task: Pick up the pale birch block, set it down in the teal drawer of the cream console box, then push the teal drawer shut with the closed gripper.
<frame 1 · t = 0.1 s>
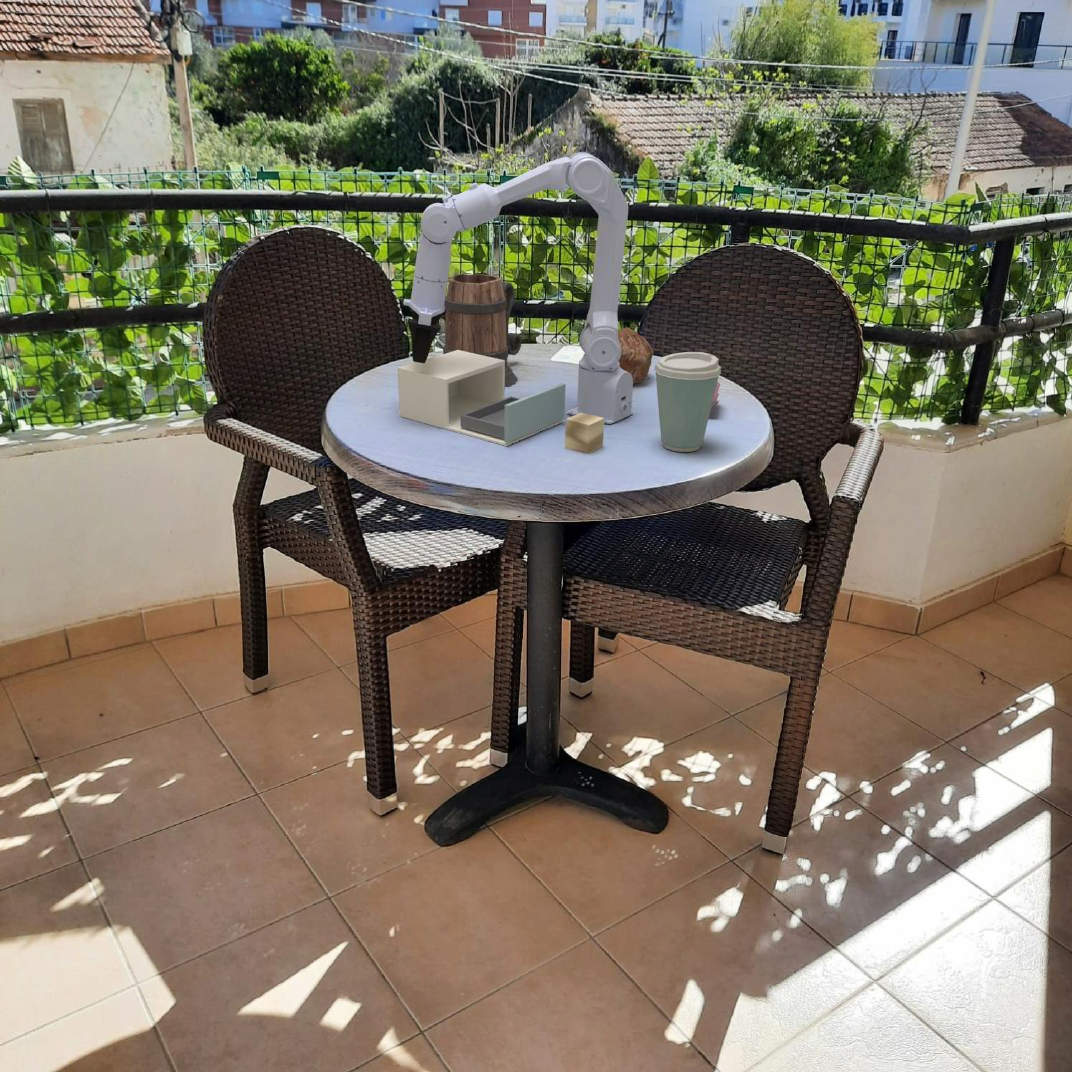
hand: (419, 356, 169), 11 cm above the table, tool pointing down, fingers open, 7 cm apart
disposable coffee cup: (680, 446, 161), on the table
teal drawer: (511, 406, 166), point 4 cm above the table, slide at 12.5 cm
birch block: (583, 447, 159), on the table
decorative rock: (623, 380, 196), on the table
console box: (452, 411, 175), on the table
tankard: (485, 376, 196), on the table
video game controller: (701, 412, 178), on the table
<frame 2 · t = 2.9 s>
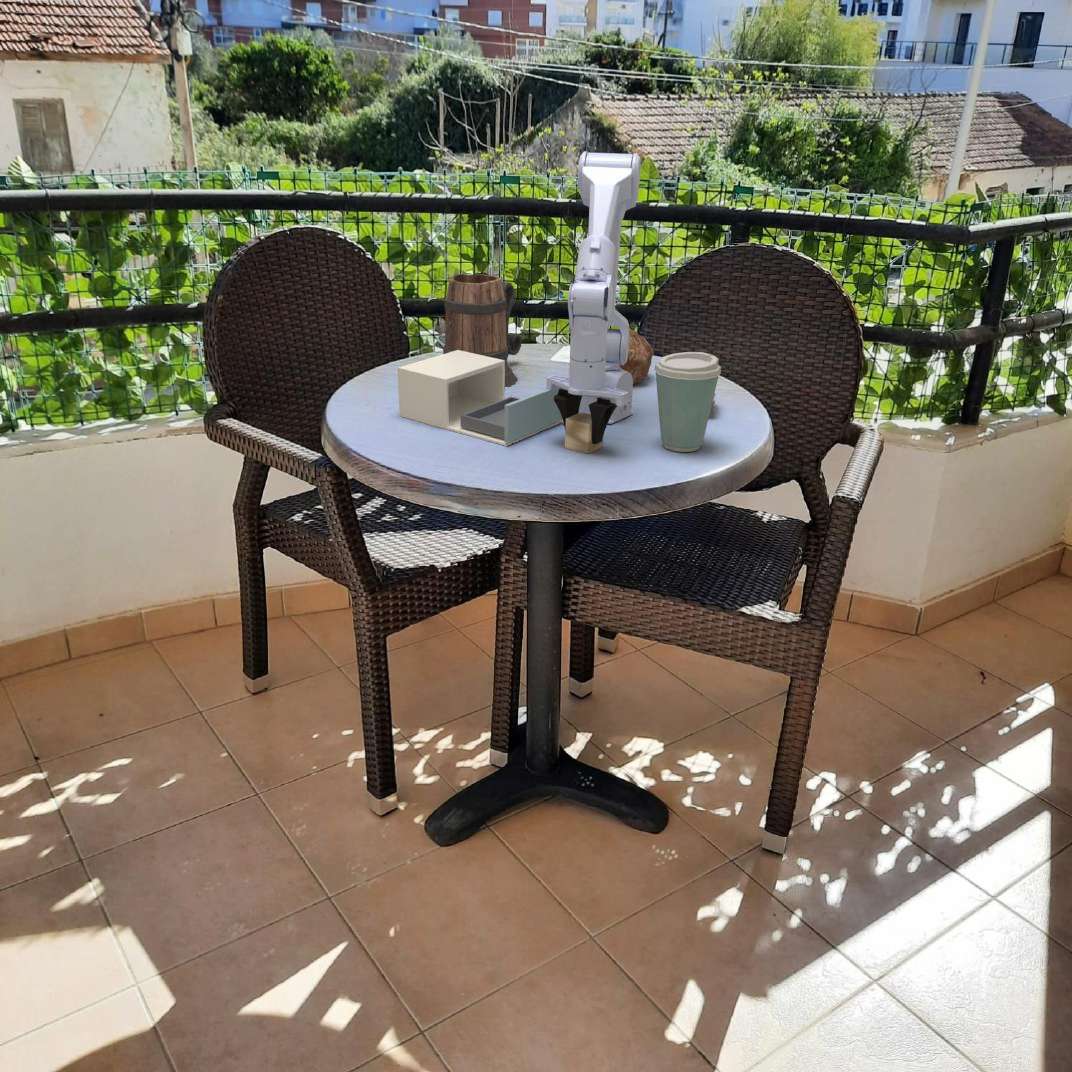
hand: (584, 438, 159), 1 cm above the table, tool pointing down, fingers closed on birch block, 4 cm apart
birch block: (583, 447, 159), on the table, touching gripper
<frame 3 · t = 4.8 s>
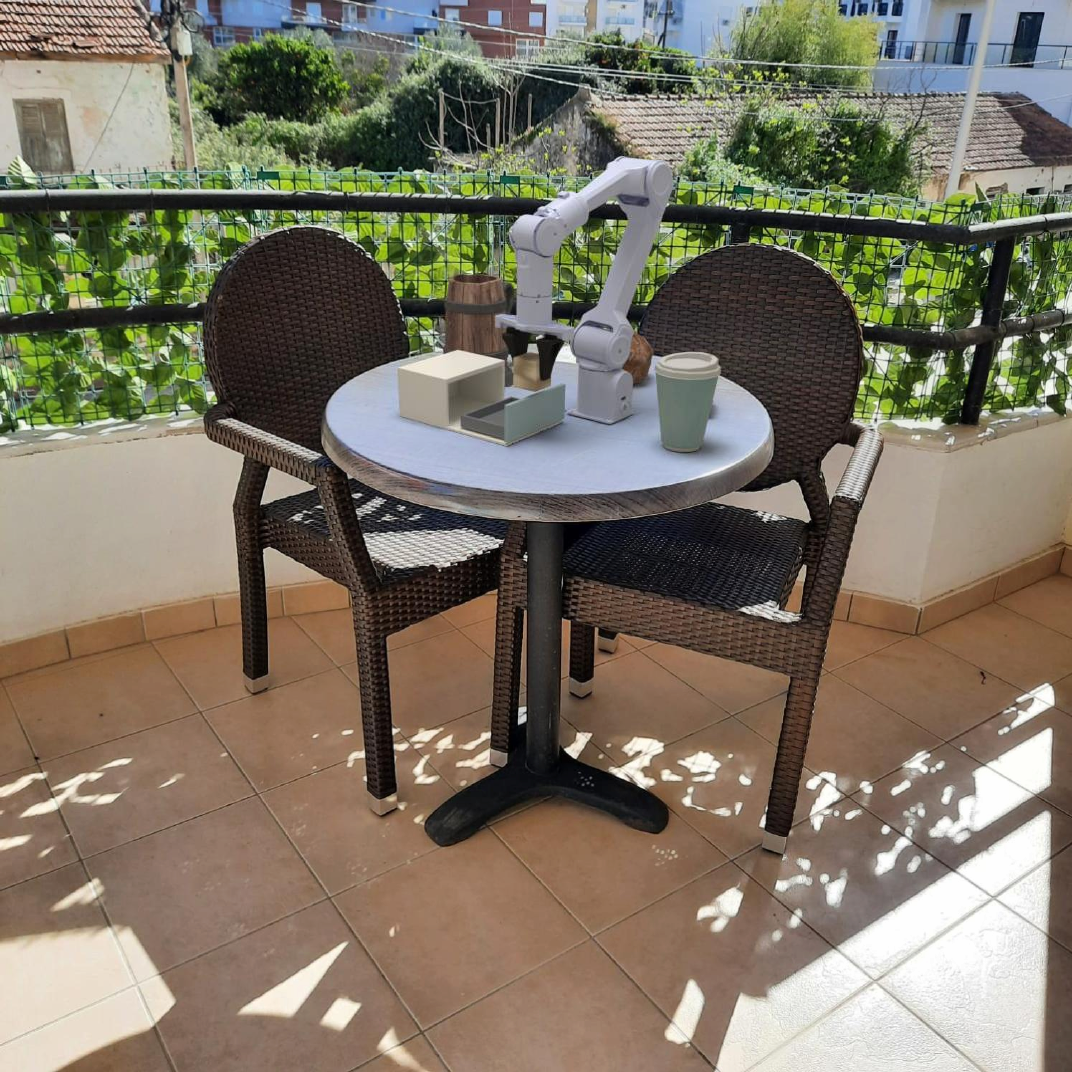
hand: (532, 376, 161), 10 cm above the table, tool pointing down, fingers closed on birch block, 4 cm apart
birch block: (532, 386, 161), point 8 cm above the table, touching gripper
when the fingers open (4 cm above the table, at t = 6.8 s): birch block drops 1 cm, resting on teal drawer.
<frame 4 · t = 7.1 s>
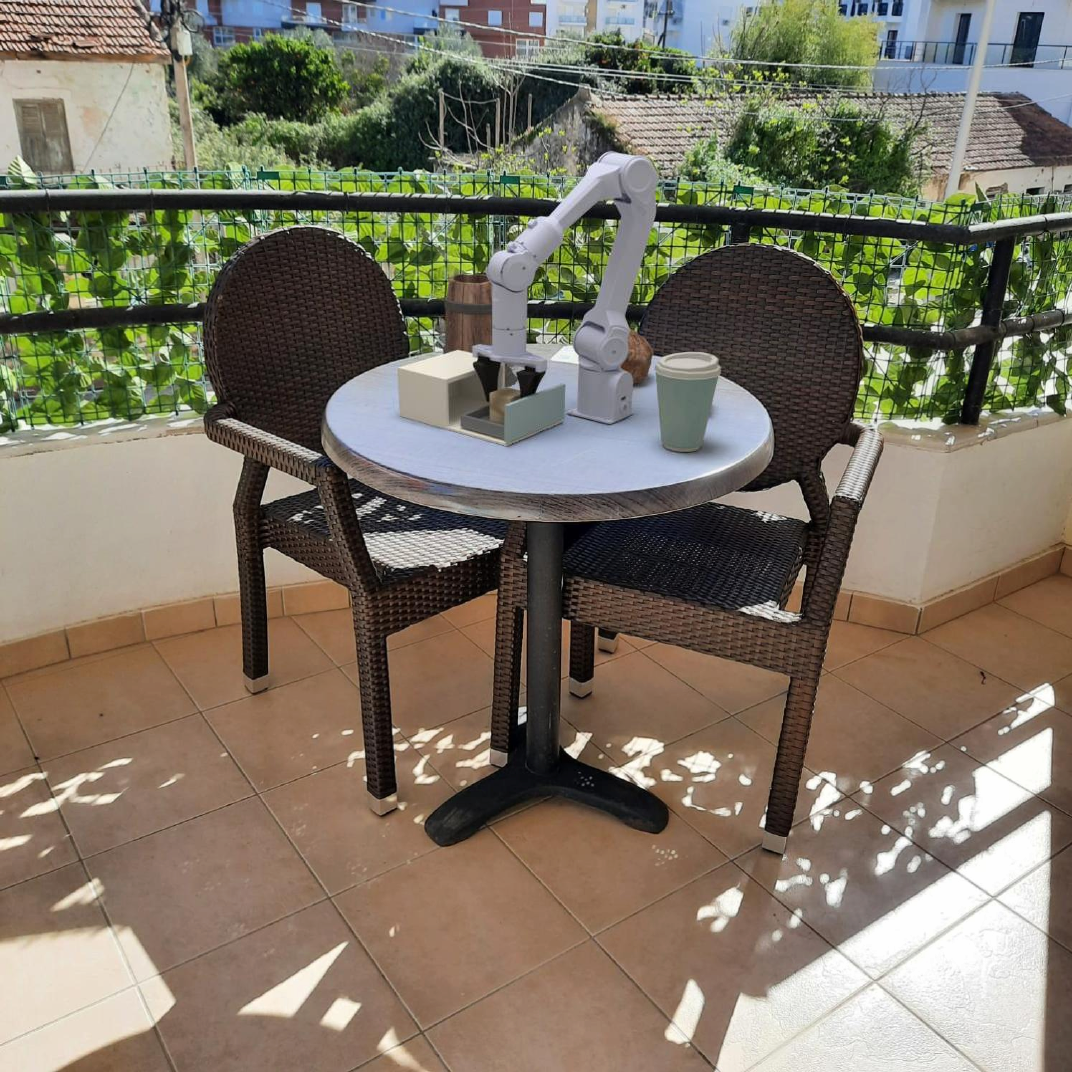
hand: (508, 405, 166), 4 cm above the table, tool pointing down, fingers open, 7 cm apart
teal drawer: (511, 406, 166), point 4 cm above the table, slide at 12.5 cm, touching birch block
birch block: (508, 420, 167), point 1 cm above the table, touching teal drawer
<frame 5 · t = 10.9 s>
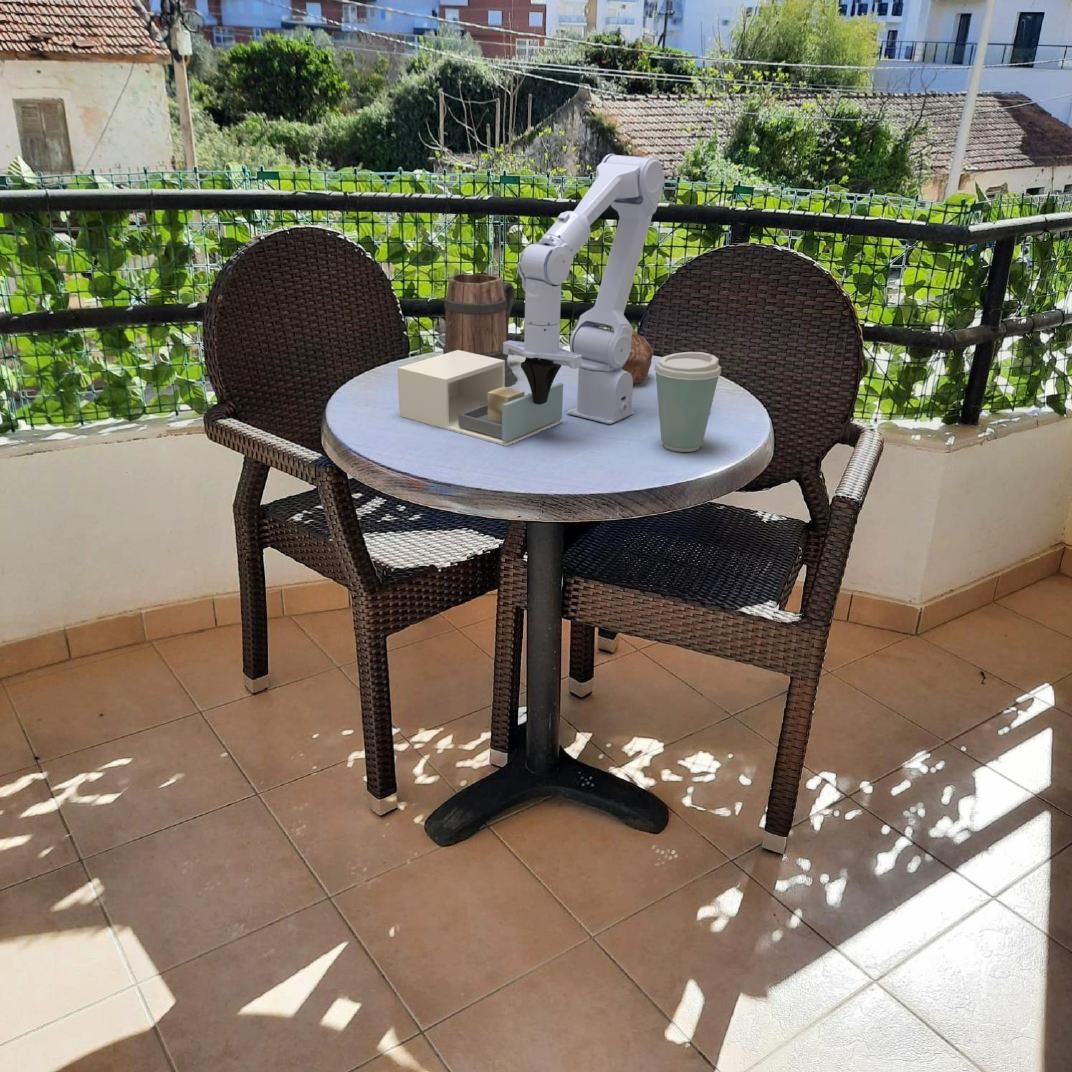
hand: (540, 402, 162), 6 cm above the table, tool pointing down, fingers closed
teal drawer: (509, 405, 166), point 4 cm above the table, slide at 12.0 cm, touching birch block, gripper
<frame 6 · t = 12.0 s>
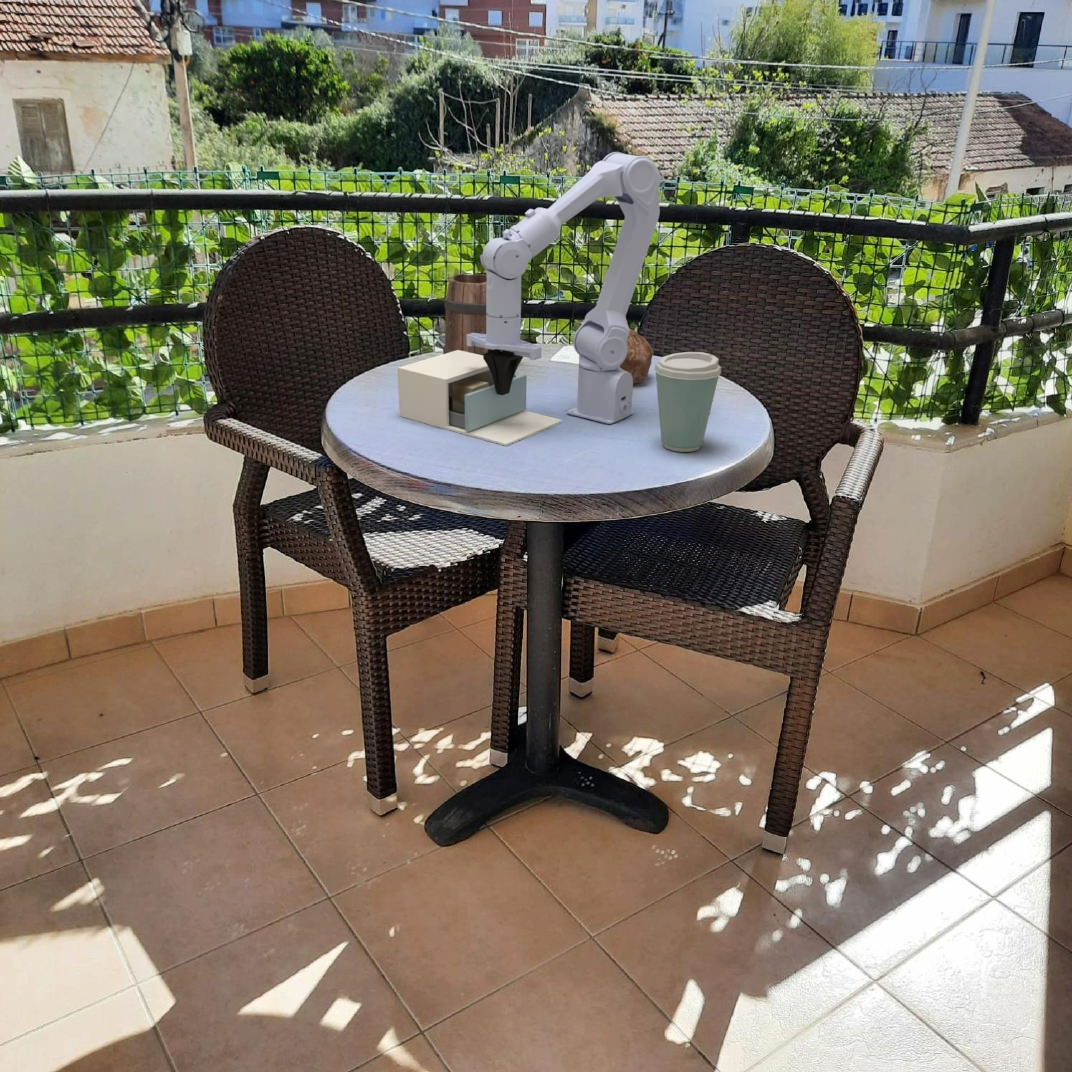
hand: (502, 393, 166), 6 cm above the table, tool pointing down, fingers closed
teal drawer: (473, 396, 170), point 4 cm above the table, slide at 4.0 cm, touching birch block, gripper
birch block: (470, 410, 172), point 1 cm above the table, touching teal drawer
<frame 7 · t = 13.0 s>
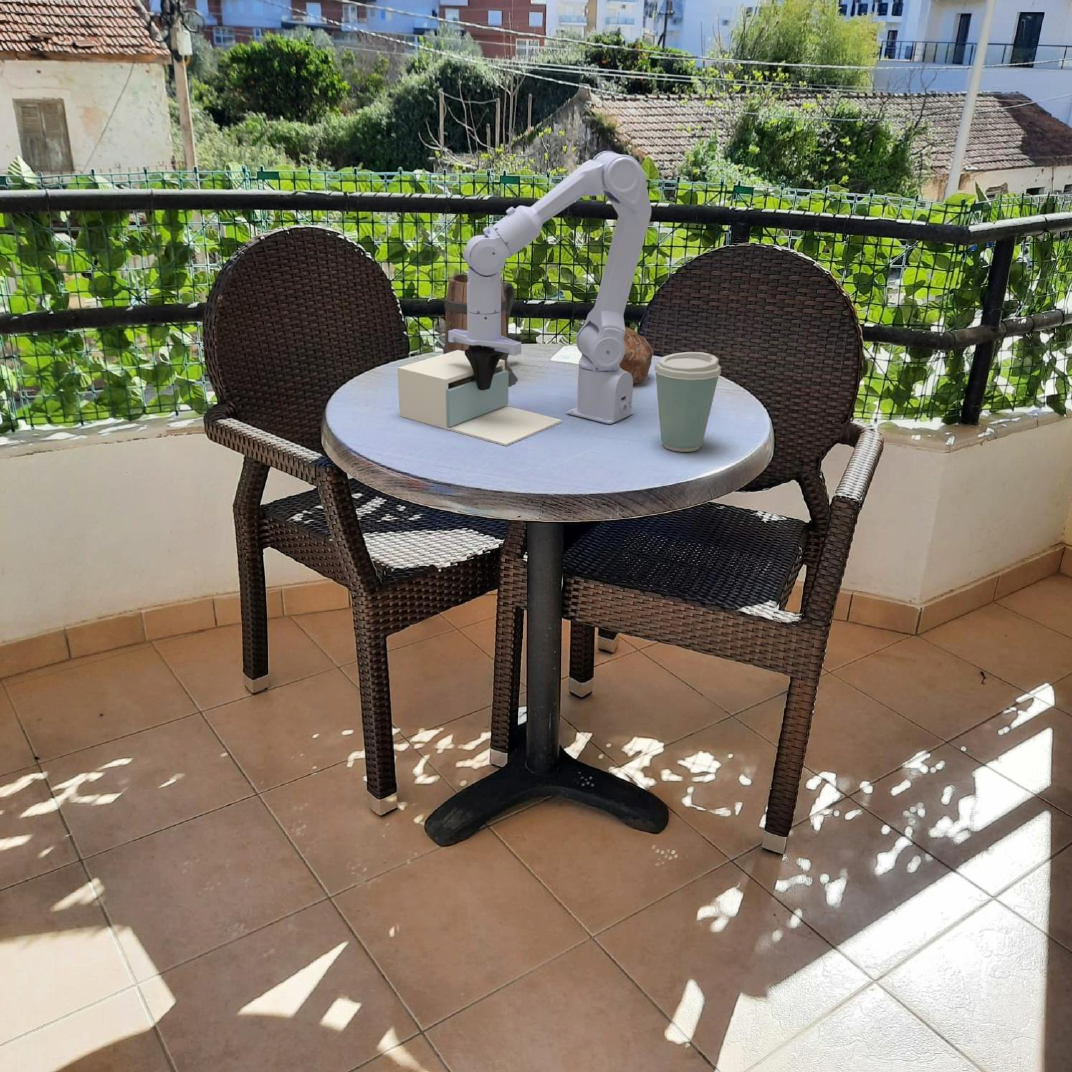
hand: (484, 388, 168), 6 cm above the table, tool pointing down, fingers closed
teal drawer: (456, 392, 172), point 4 cm above the table, slide at 0.0 cm, touching birch block, gripper
birch block: (453, 405, 174), point 1 cm above the table, touching teal drawer
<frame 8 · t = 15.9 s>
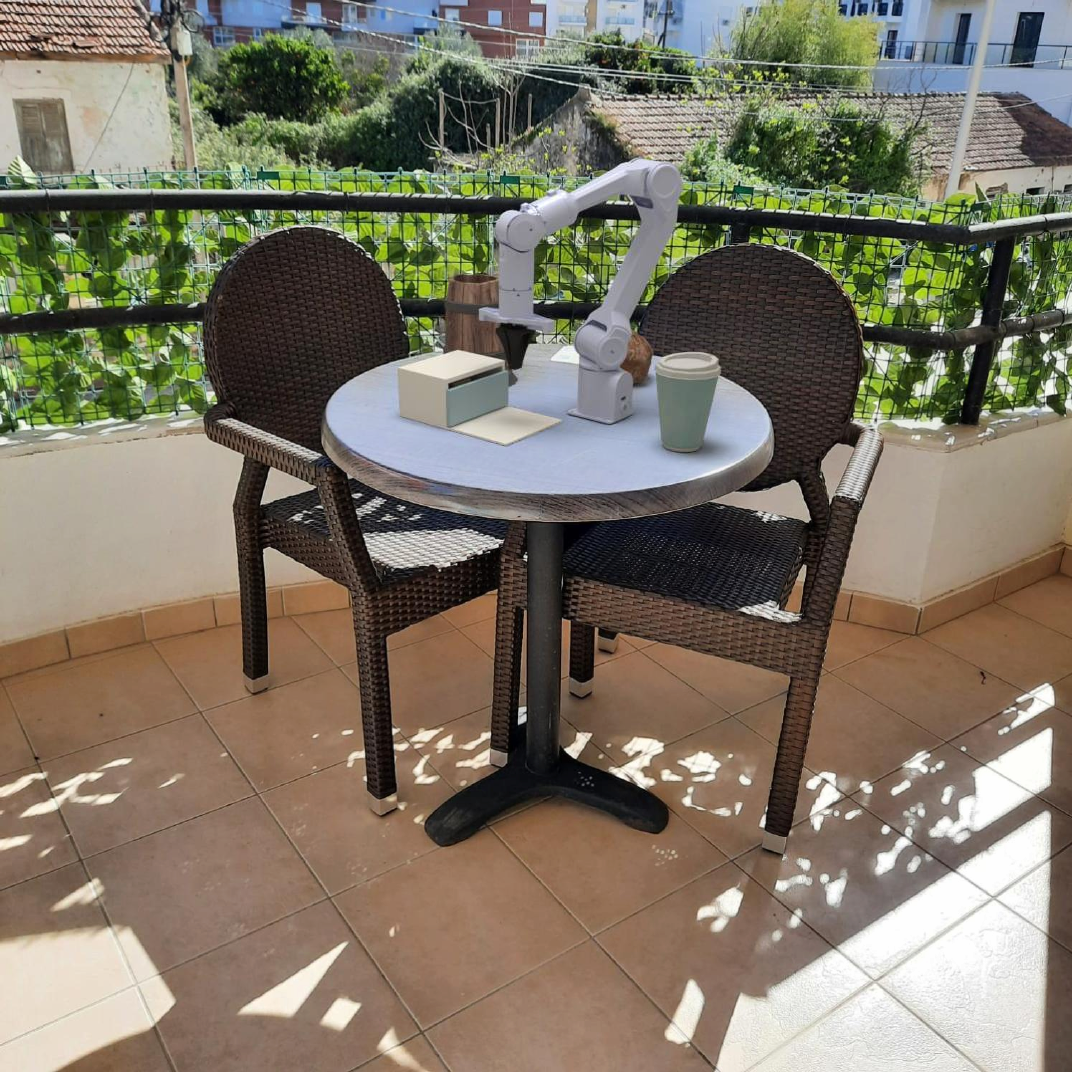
hand: (515, 368, 165), 10 cm above the table, tool pointing down, fingers closed
teal drawer: (456, 392, 172), point 4 cm above the table, slide at 0.0 cm, touching birch block
at the end: teal drawer slide at 0.0 cm; birch block inside the target area on the console box (0.2 cm from its centre), point 1.2 cm above the console box's base; birch block tilted 0° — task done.
